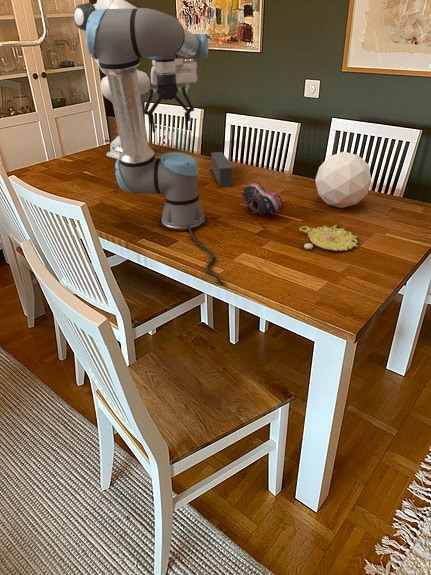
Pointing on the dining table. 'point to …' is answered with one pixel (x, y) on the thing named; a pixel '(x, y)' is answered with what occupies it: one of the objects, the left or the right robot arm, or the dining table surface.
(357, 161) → the sphere
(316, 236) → the decorative object
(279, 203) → the athletic shoe
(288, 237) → the dining table surface
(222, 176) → the bar
